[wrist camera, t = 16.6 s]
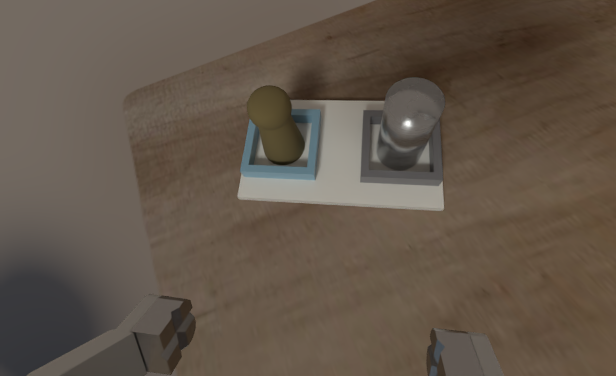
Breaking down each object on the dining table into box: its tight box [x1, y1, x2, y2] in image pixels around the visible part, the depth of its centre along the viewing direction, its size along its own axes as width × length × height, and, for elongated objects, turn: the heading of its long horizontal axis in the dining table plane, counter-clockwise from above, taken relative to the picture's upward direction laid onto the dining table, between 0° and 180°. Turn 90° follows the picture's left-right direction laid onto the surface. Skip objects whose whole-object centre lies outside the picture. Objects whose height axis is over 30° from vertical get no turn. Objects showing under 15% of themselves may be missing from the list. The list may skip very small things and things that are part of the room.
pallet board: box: [238, 100, 444, 211], centre depth 44 cm, size 27×16×3 cm, turn 85°
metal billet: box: [376, 77, 445, 170], centre depth 38 cm, size 6×6×11 cm
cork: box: [247, 85, 305, 165], centre depth 40 cm, size 6×6×11 cm
